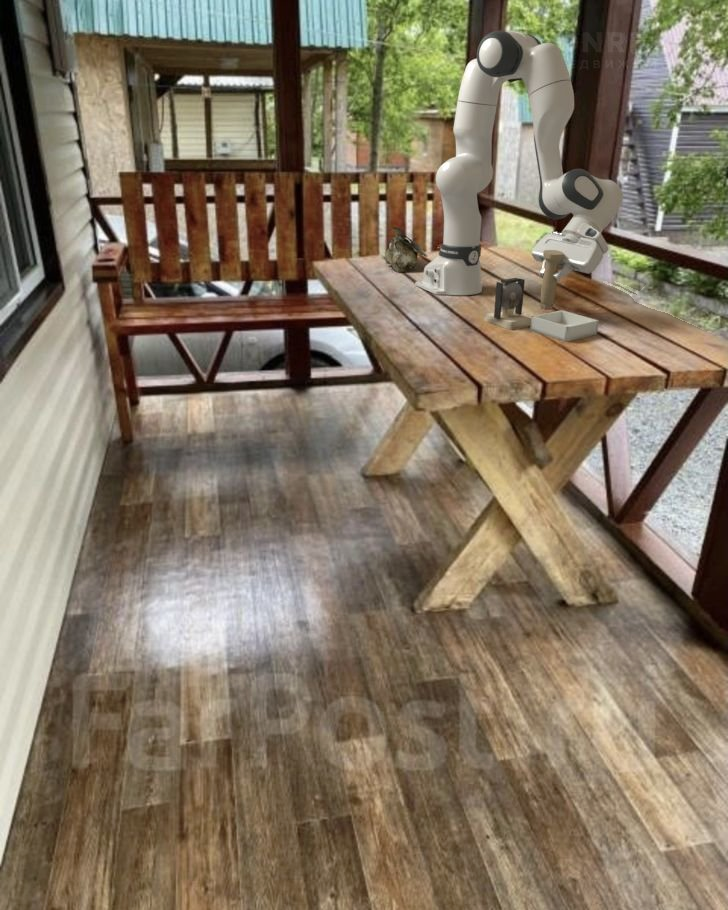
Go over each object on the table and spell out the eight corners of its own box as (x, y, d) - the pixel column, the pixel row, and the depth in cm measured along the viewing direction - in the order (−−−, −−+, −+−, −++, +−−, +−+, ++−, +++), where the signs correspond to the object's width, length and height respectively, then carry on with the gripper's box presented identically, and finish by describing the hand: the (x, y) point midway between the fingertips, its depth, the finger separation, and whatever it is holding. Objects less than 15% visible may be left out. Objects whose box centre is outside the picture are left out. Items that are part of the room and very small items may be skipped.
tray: (529, 330, 189) (531, 316, 187) (560, 323, 195) (561, 310, 193) (566, 341, 180) (567, 327, 178) (596, 334, 185) (598, 320, 184)
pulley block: (482, 321, 196) (485, 277, 191) (505, 317, 200) (508, 274, 196) (509, 330, 189) (513, 285, 184) (531, 325, 193) (536, 281, 188)
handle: (541, 311, 196) (548, 254, 189) (534, 305, 202) (540, 249, 195) (558, 311, 196) (566, 254, 190) (551, 305, 202) (558, 250, 195)
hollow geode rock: (400, 271, 279) (372, 241, 275) (425, 247, 275) (398, 216, 271) (401, 285, 253) (371, 252, 249) (428, 259, 249) (398, 225, 245)
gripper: (545, 222, 201) (515, 262, 200) (605, 234, 186) (573, 277, 185) (554, 238, 205) (525, 277, 205) (613, 250, 190) (582, 292, 190)
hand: (548, 277), depth 195 cm, fingers closed on handle, 3 cm apart
